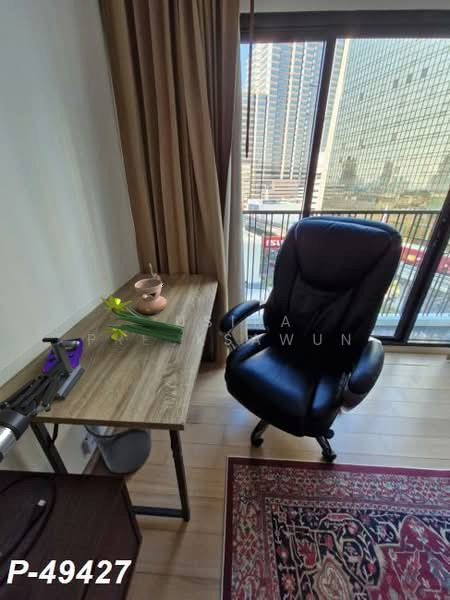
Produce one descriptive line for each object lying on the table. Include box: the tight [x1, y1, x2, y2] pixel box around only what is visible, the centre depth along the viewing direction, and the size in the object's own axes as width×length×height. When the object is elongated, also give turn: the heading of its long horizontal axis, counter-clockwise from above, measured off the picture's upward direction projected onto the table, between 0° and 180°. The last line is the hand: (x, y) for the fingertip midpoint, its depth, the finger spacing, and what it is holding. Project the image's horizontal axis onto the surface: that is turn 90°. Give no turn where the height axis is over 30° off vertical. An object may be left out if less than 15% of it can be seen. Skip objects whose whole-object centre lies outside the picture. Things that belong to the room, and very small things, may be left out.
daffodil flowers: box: [100, 293, 185, 344], centre depth 99 cm, size 17×15×35 cm
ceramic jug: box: [134, 278, 168, 315], centre depth 121 cm, size 18×14×14 cm
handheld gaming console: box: [41, 337, 84, 376], centre depth 89 cm, size 9×5×15 cm
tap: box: [41, 337, 80, 377], centre depth 79 cm, size 10×3×14 cm, turn 91°
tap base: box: [53, 364, 86, 401], centre depth 79 cm, size 7×12×3 cm, turn 1°
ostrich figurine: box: [146, 263, 162, 281], centre depth 141 cm, size 17×7×18 cm, turn 170°
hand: (60, 364), depth 78 cm, fingers closed
